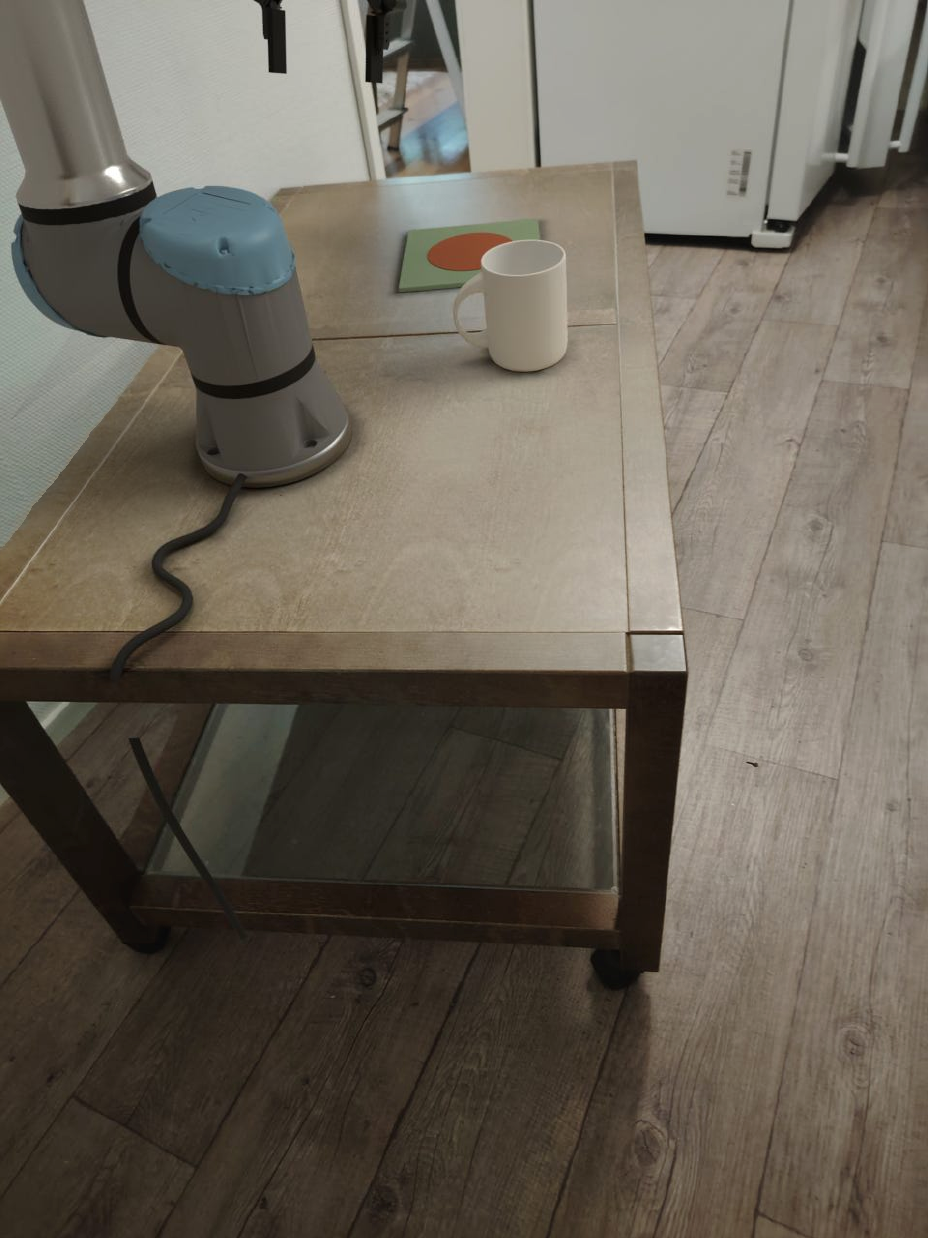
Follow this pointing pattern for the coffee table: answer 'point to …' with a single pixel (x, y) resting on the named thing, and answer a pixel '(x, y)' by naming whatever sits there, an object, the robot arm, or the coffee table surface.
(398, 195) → the coffee table surface
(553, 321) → the mug
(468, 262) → the placemat
